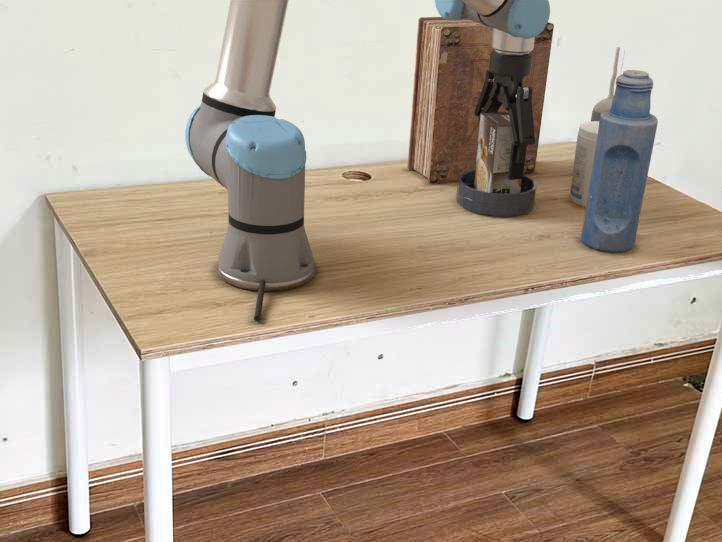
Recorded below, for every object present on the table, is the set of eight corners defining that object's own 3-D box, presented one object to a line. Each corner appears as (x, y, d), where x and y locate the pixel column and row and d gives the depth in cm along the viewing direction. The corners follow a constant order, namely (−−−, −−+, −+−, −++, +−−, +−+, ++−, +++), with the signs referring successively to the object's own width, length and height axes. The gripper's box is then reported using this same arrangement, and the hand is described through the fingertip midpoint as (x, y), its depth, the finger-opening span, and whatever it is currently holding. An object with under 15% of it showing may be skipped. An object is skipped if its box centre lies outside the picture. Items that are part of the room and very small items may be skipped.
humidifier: (597, 159, 232) (616, 41, 219) (626, 169, 227) (647, 49, 214) (572, 165, 227) (590, 45, 215) (601, 175, 222) (621, 53, 209)
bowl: (547, 214, 199) (550, 191, 197) (476, 220, 194) (479, 197, 192) (511, 188, 211) (514, 166, 209) (444, 193, 206) (446, 171, 204)
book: (428, 184, 210) (440, 27, 195) (407, 169, 217) (417, 17, 202) (535, 172, 221) (554, 23, 206) (511, 159, 228) (529, 13, 213)
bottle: (636, 238, 192) (668, 69, 177) (632, 257, 183) (664, 82, 168) (583, 230, 193) (610, 62, 178) (577, 248, 185) (604, 74, 170)
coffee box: (519, 209, 200) (530, 125, 192) (488, 211, 198) (497, 126, 190) (501, 193, 207) (510, 111, 199) (471, 194, 205) (479, 112, 197)
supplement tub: (622, 199, 210) (635, 125, 202) (611, 213, 202) (624, 137, 195) (575, 190, 213) (586, 117, 205) (562, 204, 205) (573, 128, 198)
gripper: (564, 66, 180) (548, 187, 191) (499, 35, 199) (488, 146, 210) (525, 67, 177) (511, 190, 188) (463, 36, 197) (453, 149, 208)
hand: (499, 167), depth 199 cm, fingers open, 12 cm apart
